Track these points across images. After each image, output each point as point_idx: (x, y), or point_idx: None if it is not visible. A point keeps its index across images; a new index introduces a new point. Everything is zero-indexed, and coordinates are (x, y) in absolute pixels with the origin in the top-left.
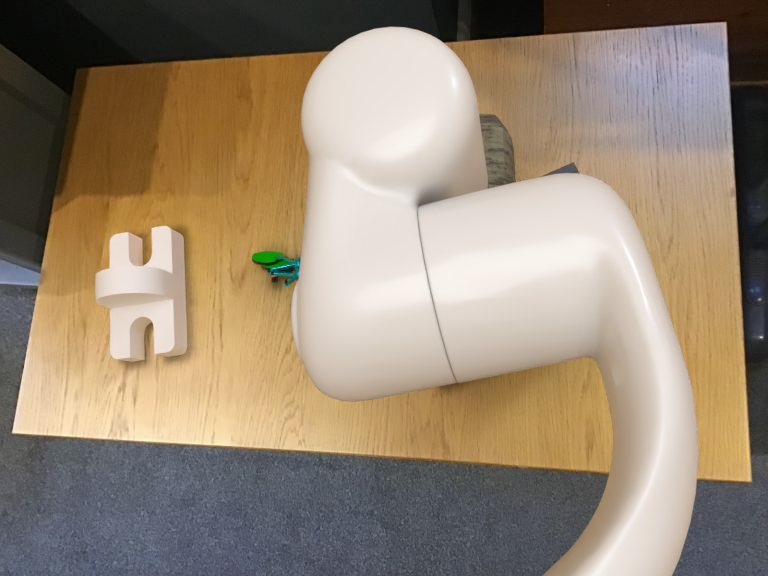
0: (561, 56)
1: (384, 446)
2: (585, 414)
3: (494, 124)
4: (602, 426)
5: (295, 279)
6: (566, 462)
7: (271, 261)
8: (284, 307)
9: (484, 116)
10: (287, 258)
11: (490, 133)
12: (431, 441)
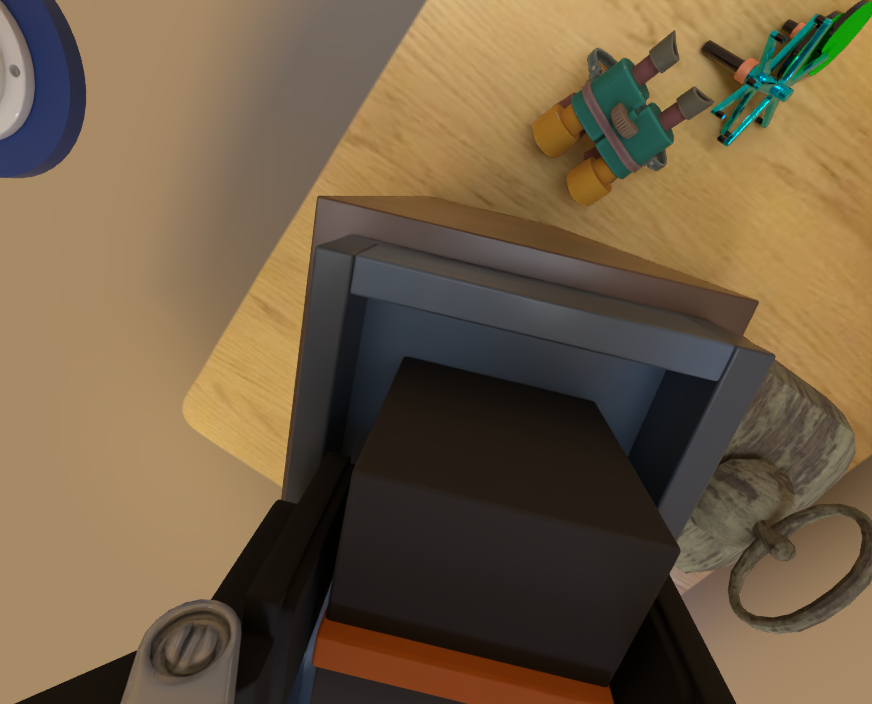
0: (682, 571)
1: (405, 46)
2: (301, 328)
3: (699, 570)
4: (280, 335)
5: (760, 64)
6: (261, 273)
7: (830, 38)
8: (727, 15)
9: (725, 564)
10: (804, 75)
11: (693, 559)
12: (372, 124)
